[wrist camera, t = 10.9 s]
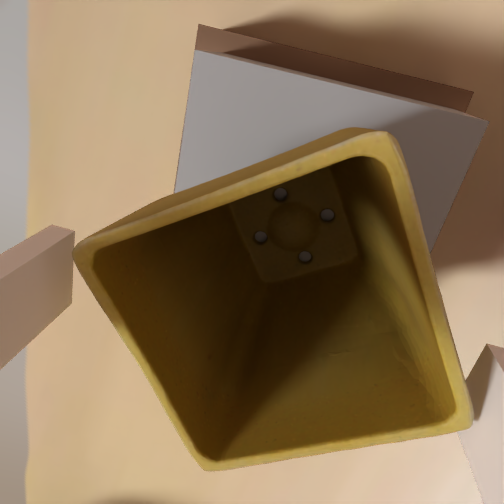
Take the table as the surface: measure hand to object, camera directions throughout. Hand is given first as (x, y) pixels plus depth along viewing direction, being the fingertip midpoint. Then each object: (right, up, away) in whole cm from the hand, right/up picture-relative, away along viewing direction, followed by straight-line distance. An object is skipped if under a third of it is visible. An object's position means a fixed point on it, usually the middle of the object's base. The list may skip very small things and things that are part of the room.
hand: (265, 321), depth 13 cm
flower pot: (+2, +3, +6) cm, 7 cm away
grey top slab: (+3, +6, +11) cm, 12 cm away
